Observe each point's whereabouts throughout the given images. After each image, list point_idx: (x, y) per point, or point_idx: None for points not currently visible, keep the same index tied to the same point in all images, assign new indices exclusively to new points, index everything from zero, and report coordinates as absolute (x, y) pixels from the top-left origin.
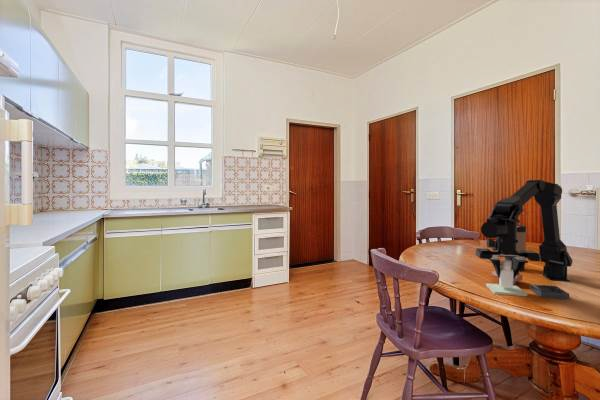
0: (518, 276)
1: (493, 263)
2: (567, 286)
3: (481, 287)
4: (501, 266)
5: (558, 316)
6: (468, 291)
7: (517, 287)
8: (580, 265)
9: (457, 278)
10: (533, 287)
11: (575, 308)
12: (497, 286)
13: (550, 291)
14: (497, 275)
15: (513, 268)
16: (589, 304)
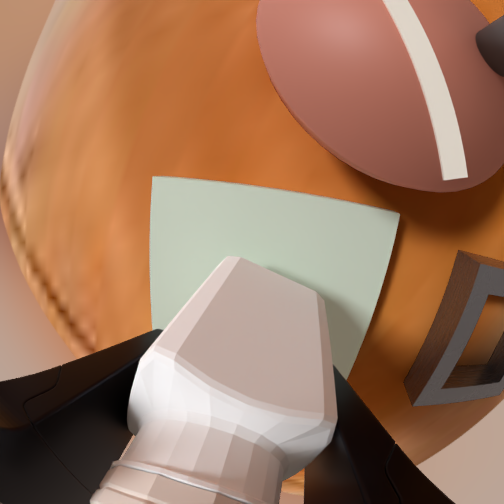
0: (487, 143)
1: (14, 405)
2: None
3: (118, 229)
4: (128, 454)
5: (299, 486)
6: (59, 301)
7: (377, 268)
8: None
9: (61, 68)
10: (456, 318)
11: (418, 445)
12: (213, 251)
13: (463, 388)
14: (148, 339)
15: (330, 472)
16: (496, 400)
